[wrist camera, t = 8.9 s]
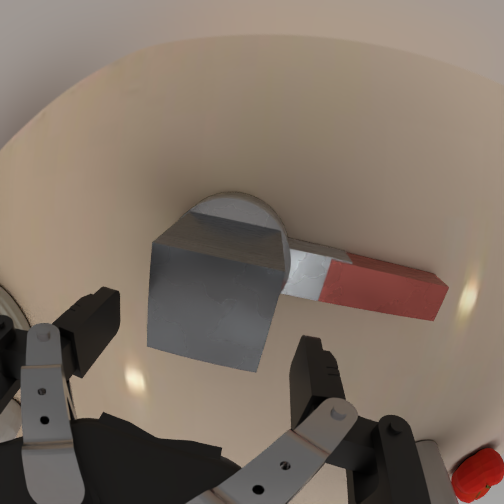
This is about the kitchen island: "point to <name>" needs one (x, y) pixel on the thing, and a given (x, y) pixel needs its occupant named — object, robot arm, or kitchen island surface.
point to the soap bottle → (10, 421)
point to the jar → (12, 311)
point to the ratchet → (336, 267)
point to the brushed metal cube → (214, 289)
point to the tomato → (478, 475)
